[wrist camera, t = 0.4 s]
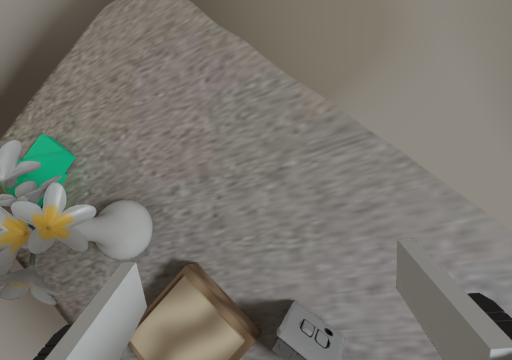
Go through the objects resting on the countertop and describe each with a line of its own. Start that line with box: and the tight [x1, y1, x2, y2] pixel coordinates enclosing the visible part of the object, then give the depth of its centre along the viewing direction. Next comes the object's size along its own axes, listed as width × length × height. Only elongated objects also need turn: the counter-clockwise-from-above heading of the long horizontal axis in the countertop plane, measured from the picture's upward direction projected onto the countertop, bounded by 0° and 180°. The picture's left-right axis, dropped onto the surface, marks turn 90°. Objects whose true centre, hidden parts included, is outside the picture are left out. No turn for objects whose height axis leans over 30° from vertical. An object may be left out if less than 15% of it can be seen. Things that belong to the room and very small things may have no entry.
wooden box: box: [128, 262, 261, 360], centre depth 45 cm, size 14×14×5 cm
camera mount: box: [7, 135, 76, 207], centre depth 53 cm, size 12×8×10 cm, turn 144°
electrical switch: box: [272, 301, 344, 360], centre depth 41 cm, size 8×5×8 cm, turn 55°
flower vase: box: [0, 140, 153, 305], centre depth 40 cm, size 13×18×25 cm
